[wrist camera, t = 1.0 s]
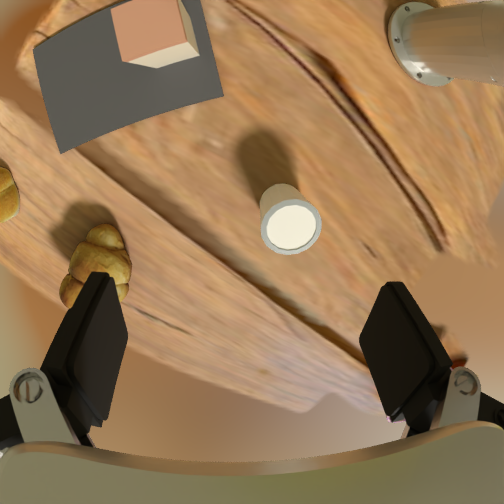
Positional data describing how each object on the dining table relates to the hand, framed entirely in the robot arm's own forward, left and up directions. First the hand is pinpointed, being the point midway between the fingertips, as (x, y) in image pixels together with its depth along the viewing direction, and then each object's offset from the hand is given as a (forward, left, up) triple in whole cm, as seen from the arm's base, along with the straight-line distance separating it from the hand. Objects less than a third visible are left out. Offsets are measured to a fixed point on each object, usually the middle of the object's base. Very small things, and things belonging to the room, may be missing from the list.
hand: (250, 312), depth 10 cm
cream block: (+4, -14, -27) cm, 31 cm away
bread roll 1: (+36, -5, -28) cm, 46 cm away
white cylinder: (-4, +9, -28) cm, 30 cm away
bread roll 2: (+22, +11, -28) cm, 37 cm away
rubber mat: (+11, -14, -28) cm, 33 cm away
